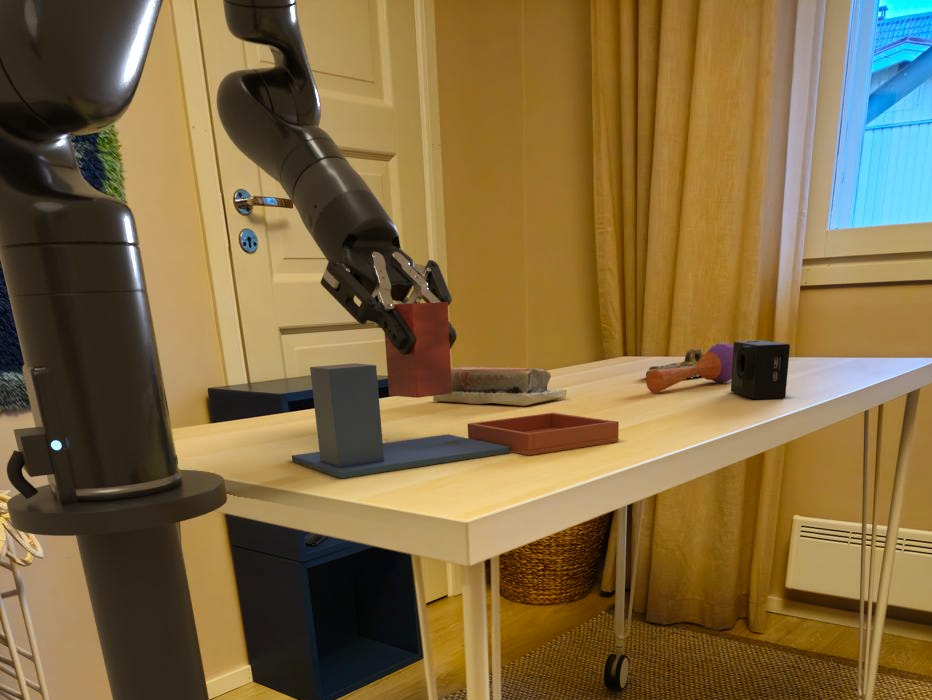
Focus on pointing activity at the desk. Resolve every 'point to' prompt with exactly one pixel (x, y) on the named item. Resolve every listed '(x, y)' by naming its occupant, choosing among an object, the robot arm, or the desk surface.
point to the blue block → (347, 414)
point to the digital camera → (760, 369)
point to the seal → (690, 361)
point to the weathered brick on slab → (500, 386)
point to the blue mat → (410, 455)
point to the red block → (422, 353)
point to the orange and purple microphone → (696, 369)
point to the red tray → (545, 432)
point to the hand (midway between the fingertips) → (430, 345)
